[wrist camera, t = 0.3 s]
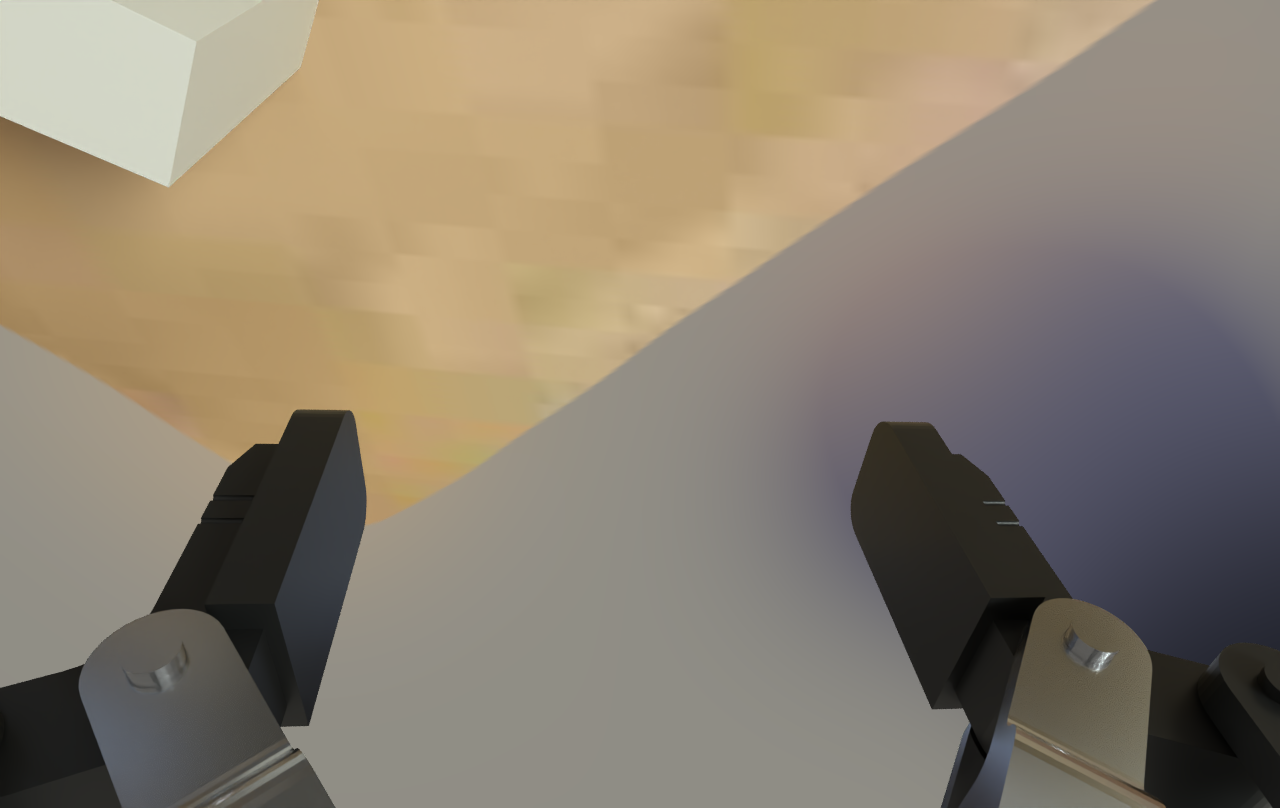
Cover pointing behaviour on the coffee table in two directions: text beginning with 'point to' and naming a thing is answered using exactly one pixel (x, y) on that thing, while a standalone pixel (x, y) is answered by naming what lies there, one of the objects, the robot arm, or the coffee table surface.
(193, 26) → the tall cream pillar block
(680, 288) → the coffee table surface
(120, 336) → the coffee table surface
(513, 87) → the coffee table surface
